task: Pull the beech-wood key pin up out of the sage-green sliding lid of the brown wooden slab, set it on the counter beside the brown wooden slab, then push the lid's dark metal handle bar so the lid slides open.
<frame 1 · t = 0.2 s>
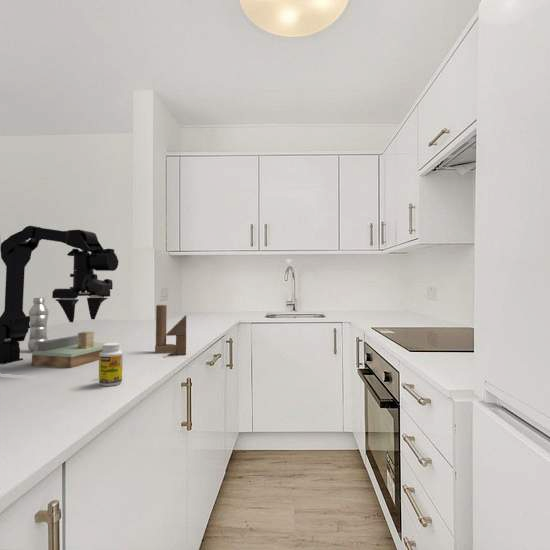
hand: (82, 320, 120), 14 cm above the countertop, tool pointing down, fingers open, 9 cm apart
lid: (76, 344, 124), point 6 cm above the countertop, slide at 0.0 cm
plastic bottle: (37, 351, 144), on the countertop
supplement bottle: (110, 384, 99), on the countertop
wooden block: (170, 355, 139), on the countertop
brown wooden slab: (76, 363, 124), on the countertop
key pin: (85, 360, 123), point 1 cm above the countertop, touching brown wooden slab
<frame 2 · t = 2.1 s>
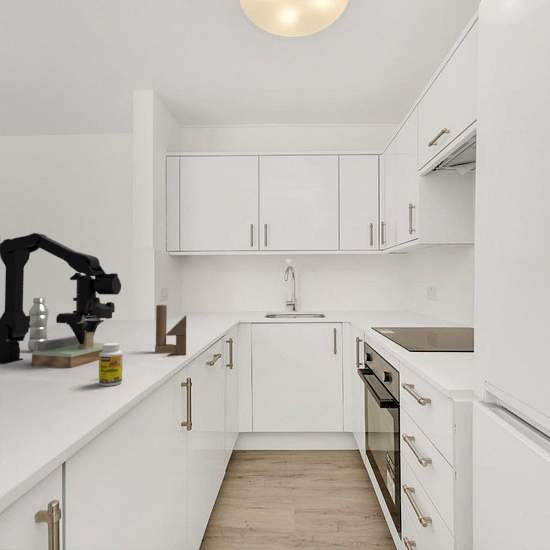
hand: (85, 343, 123), 7 cm above the countertop, tool pointing down, fingers closed on key pin, 3 cm apart
key pin: (85, 360, 123), point 1 cm above the countertop, touching gripper, brown wooden slab
everything else where it was.
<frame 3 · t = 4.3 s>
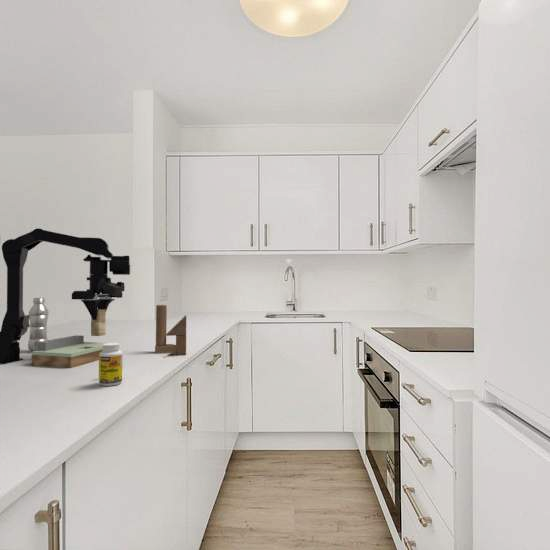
hand: (98, 319, 134), 13 cm above the countertop, tool pointing down, fingers closed on key pin, 3 cm apart
key pin: (98, 335, 134), point 8 cm above the countertop, touching gripper
everything else where it was.
when the fingers open (7 cm above the countertop, at t = 6.6 s): key pin drops 2 cm, on the countertop.
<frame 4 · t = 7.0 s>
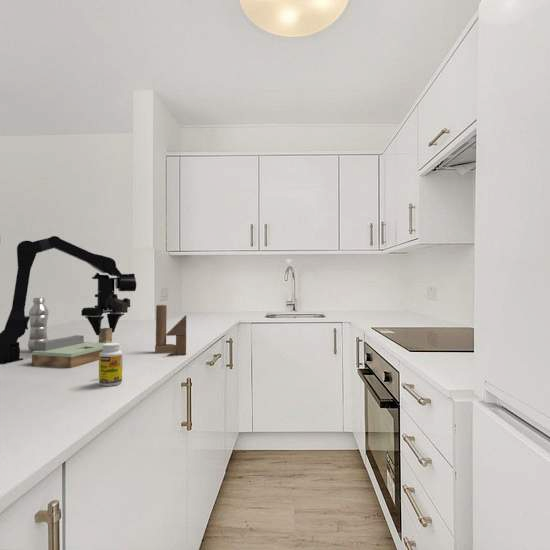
hand: (105, 333, 142), 7 cm above the countertop, tool pointing down, fingers open, 8 cm apart
key pin: (105, 353, 142), on the countertop
everything else where it was.
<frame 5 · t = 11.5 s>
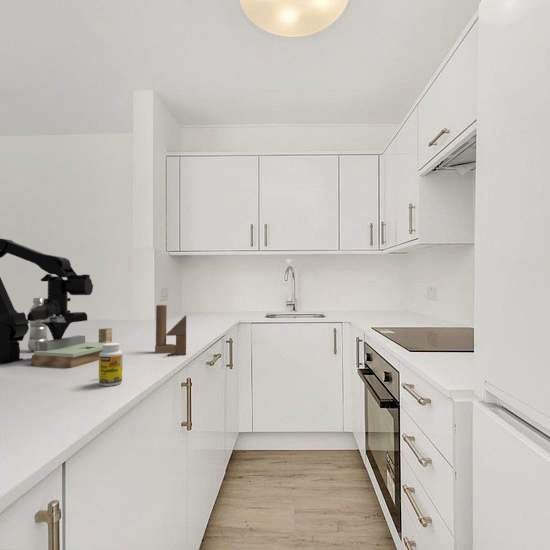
hand: (57, 343, 126), 6 cm above the countertop, tool pointing down, fingers closed
lid: (77, 344, 124), point 6 cm above the countertop, slide at 0.6 cm, touching gripper
everything else where it was.
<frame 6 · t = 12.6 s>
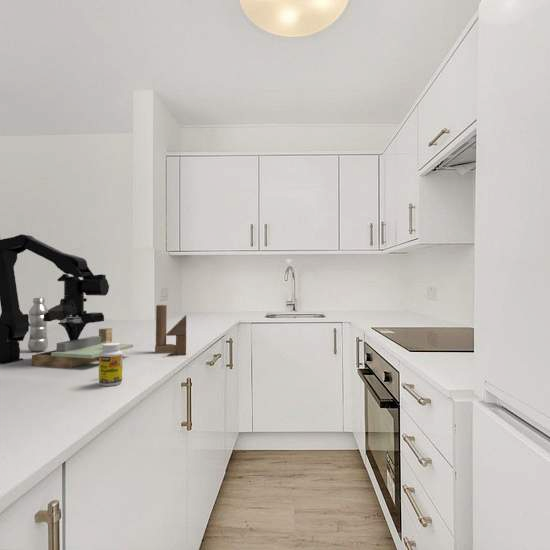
hand: (73, 343, 124), 6 cm above the countertop, tool pointing down, fingers closed
lid: (94, 345, 122), point 6 cm above the countertop, slide at 6.9 cm, touching gripper
everything else where it was.
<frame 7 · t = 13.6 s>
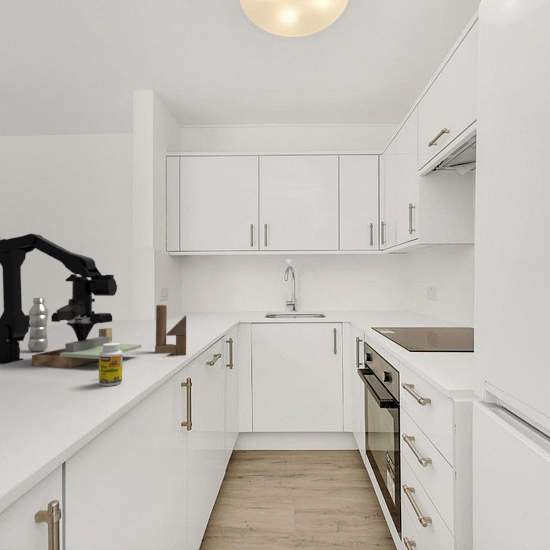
hand: (81, 344, 124), 6 cm above the countertop, tool pointing down, fingers closed
lid: (103, 346, 122), point 6 cm above the countertop, slide at 10.0 cm, touching gripper
everything else where it was.
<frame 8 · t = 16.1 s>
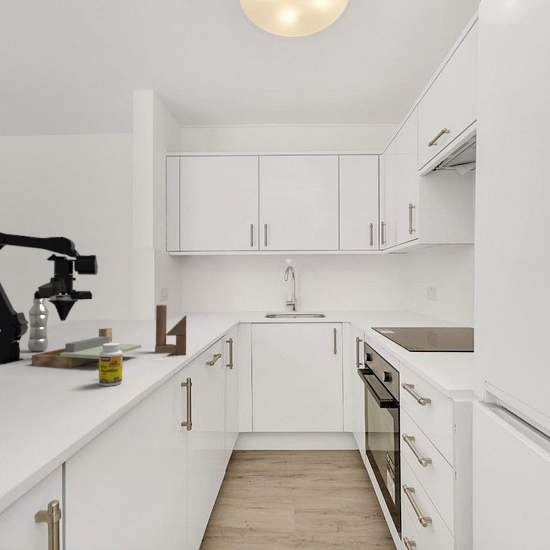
hand: (62, 320, 130), 13 cm above the countertop, tool pointing down, fingers closed
lid: (103, 346, 122), point 6 cm above the countertop, slide at 10.1 cm
everything else where it was.
at the end: lid slide at 10.1 cm; key pin inside the target area (0.8 cm from its centre), on the countertop; the gripper is holding nothing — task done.
